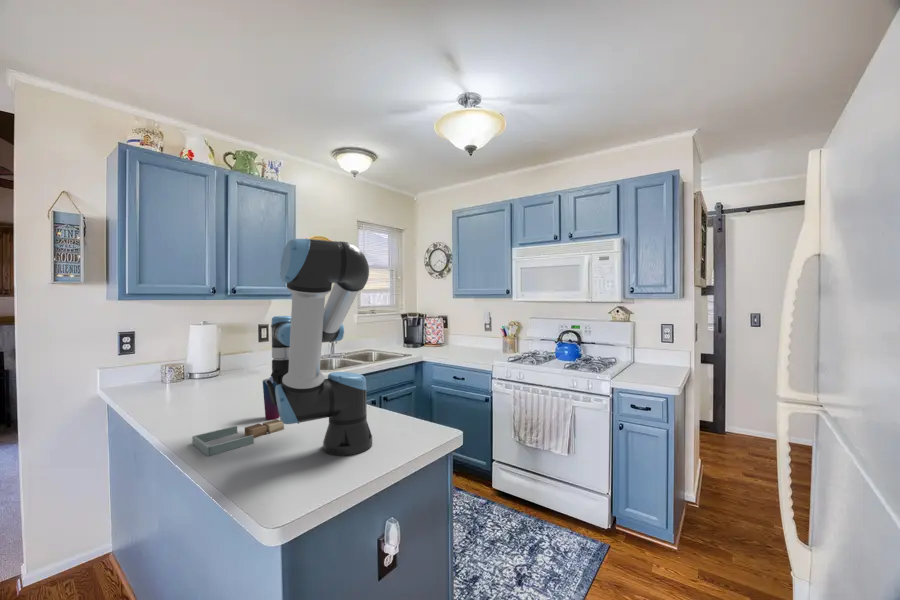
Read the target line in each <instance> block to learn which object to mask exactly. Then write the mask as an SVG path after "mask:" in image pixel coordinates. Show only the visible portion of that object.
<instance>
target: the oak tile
mask: <svg viewBox="0 0 900 600" xmlns="http://www.w3.org/2000/svg"><path fill="white" fill-rule="evenodd" d="M262 425H265V426H267V434H269V435H271V434H274V433H277V432H280V431H284V429H285V428H284V427H285V426H284V425H285V424H284V423H283V422H282V421H280V420H279V419H278V418H277V419H274V420H267V421H265V422H262Z"/></svg>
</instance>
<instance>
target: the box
mask: <svg viewBox="0 0 900 600" xmlns="http://www.w3.org/2000/svg"><path fill="white" fill-rule="evenodd" d="M236 434H238V426H237V425H234V426H233V425H232V426H228V427H224V428H221V429H216V430H213V431H208V432H205V433H204V432H203V433H201V434H197V435H196V434H195V435H192V436H191V437H192V445H193V446H194V445H195V446H194V447H196V448H197V449H198V450H200V452H202V454H204V455H206V457H210V456H212V455H216V454H219V453H220V454H221V453H224V452H227V451H231V450H234V449H237V448H241V447H244V446H248V445H252V444H254V441H255V440H254V439H255V438H254V435H250V436H243V437H240V438H235V439H232V440H228V441H224V442H221V443H217V444H214V445H208V444H207V443H206V442H208V441H213V440H216V439H219V438H225V437H228V436H232V435H236Z"/></svg>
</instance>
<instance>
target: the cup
mask: <svg viewBox="0 0 900 600" xmlns="http://www.w3.org/2000/svg"><path fill="white" fill-rule="evenodd" d="M266 379H267V378H264V379H263V380H262V391H263V405H264V416H265V417H264V418H265V420H267V421H272V420H275V419H277V420H278V419H280V415H279V414H278V407H277V406H276V405H274V404H272V401H271V398H270V394H269V390H268V387H267V385H266V383H265V382H264V381H265V380H266ZM272 384H273V386H274V389H276V382H275V381H274V380H273V383H272Z"/></svg>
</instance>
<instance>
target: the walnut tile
mask: <svg viewBox="0 0 900 600" xmlns="http://www.w3.org/2000/svg"><path fill="white" fill-rule="evenodd" d="M267 434H268V433H267V426H265V425H263V423H262V424H261V423H256V424H252V425H249V426H245V427H244V437H247V436H250V435H254V439H256V438H259V437H262V436H265V435H267Z"/></svg>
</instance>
